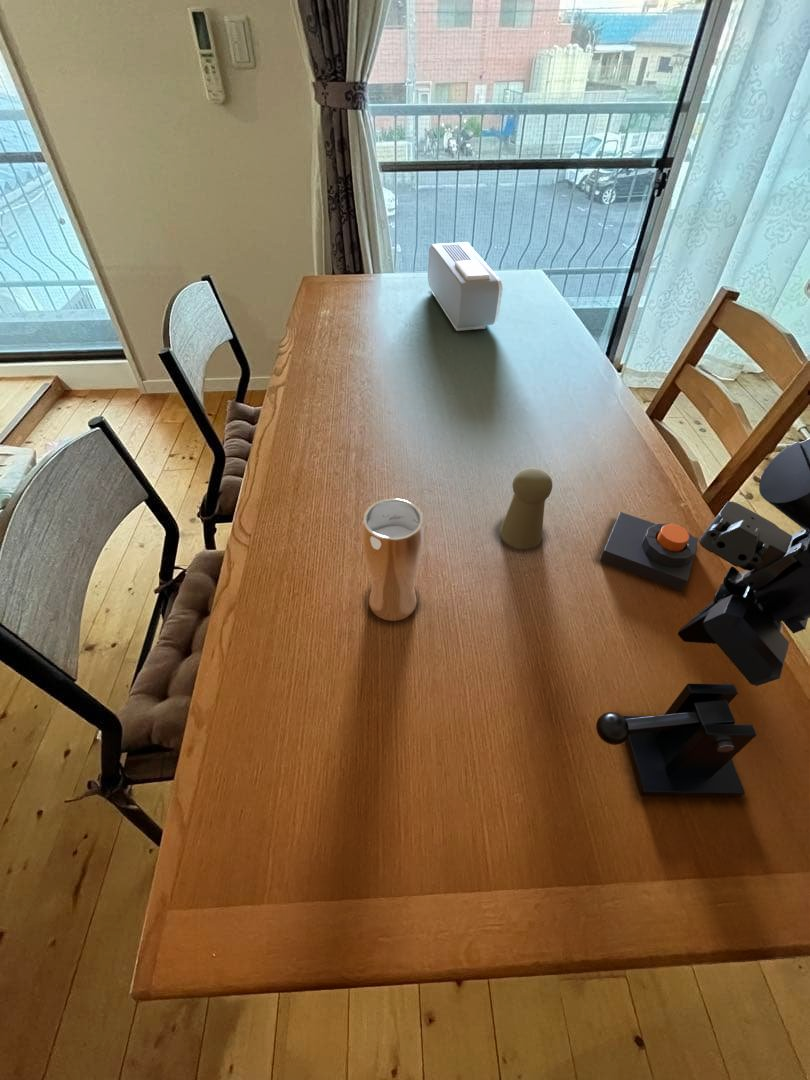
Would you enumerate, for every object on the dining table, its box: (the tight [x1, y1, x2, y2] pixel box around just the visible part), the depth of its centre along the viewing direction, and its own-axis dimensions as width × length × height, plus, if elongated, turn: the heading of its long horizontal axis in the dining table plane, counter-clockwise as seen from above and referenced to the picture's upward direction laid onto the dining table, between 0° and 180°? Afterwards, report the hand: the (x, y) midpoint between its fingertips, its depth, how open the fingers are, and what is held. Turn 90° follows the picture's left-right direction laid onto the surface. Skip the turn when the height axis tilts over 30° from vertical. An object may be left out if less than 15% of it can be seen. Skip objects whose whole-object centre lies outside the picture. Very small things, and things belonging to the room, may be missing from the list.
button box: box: [599, 511, 699, 592], centre depth 77 cm, size 11×9×4 cm
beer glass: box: [362, 498, 425, 622], centre depth 66 cm, size 7×7×15 cm
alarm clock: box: [427, 241, 504, 332], centre depth 129 cm, size 27×9×12 cm, turn 13°
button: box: [657, 523, 690, 552], centre depth 74 cm, size 4×4×2 cm
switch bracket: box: [622, 682, 757, 799], centre depth 54 cm, size 10×8×11 cm
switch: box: [595, 699, 736, 746], centre depth 52 cm, size 12×3×3 cm, turn 89°
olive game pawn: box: [499, 467, 553, 550], centre depth 77 cm, size 6×6×11 cm
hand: (681, 635), depth 55 cm, fingers closed
